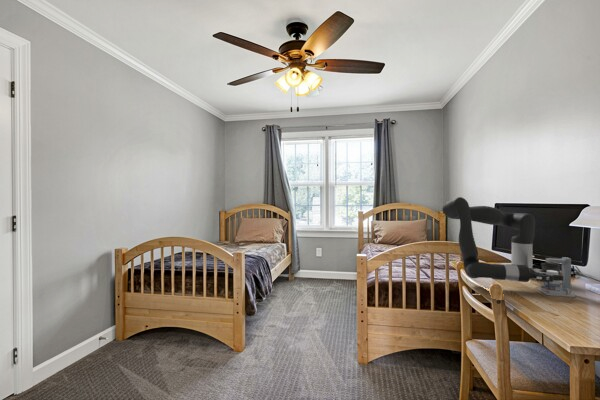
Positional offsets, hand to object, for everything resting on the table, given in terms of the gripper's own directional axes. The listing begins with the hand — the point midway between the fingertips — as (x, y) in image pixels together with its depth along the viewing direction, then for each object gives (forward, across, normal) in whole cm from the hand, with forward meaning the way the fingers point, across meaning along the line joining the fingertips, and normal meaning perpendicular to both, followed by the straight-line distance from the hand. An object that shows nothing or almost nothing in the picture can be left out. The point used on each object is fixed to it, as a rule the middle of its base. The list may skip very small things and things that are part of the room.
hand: (557, 275), depth 134 cm
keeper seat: (-1, 0, +8) cm, 8 cm away
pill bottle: (-2, 0, +7) cm, 7 cm away
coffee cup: (+4, +16, +8) cm, 18 cm away
